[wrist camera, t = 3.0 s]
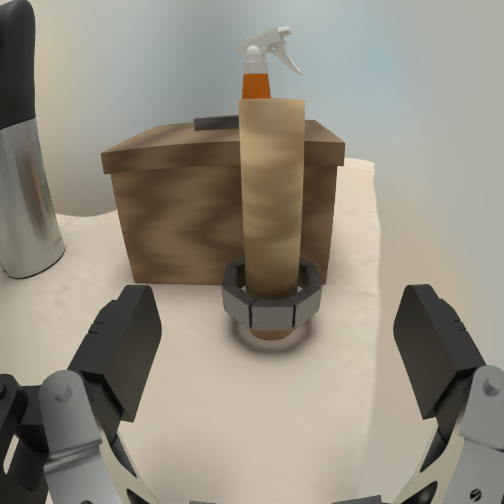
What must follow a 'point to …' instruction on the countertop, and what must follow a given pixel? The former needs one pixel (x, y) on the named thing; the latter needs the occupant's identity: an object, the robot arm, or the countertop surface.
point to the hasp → (271, 310)
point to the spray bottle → (263, 61)
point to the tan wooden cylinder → (272, 197)
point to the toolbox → (207, 198)
